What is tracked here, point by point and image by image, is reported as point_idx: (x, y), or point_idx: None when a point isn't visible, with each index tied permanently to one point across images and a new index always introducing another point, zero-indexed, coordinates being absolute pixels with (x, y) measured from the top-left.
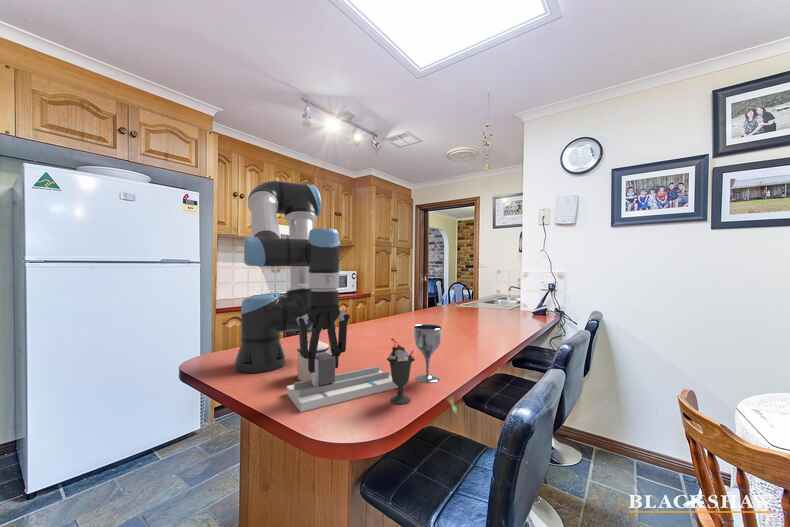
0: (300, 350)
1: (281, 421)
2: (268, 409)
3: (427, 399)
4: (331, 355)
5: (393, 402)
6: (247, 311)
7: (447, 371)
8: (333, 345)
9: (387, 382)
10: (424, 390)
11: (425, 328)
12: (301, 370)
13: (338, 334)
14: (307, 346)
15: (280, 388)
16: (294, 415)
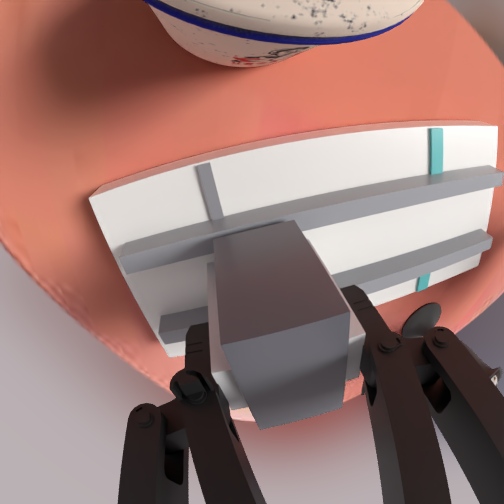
0: (129, 448)
1: (129, 360)
2: (73, 296)
3: (453, 323)
4: (344, 382)
5: (402, 334)
6: None
7: None
8: (376, 439)
9: (454, 275)
10: (481, 283)
11: None
12: (162, 23)
13: (486, 430)
14: (186, 497)
15: (71, 110)
16: (155, 346)
